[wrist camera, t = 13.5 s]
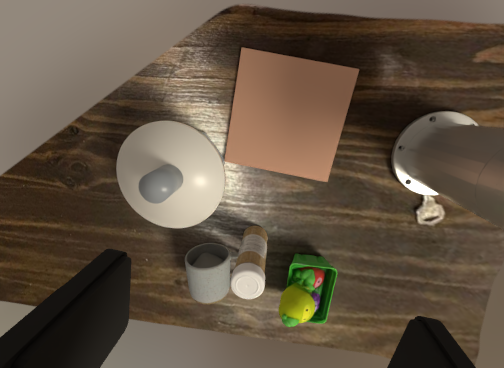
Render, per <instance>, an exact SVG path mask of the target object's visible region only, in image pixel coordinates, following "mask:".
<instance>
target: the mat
mask: <svg viewBox="0 0 504 368" xmlns="http://www.w3.org/2000/svg"><path fill="white" fill-rule="evenodd" d="M358 73H359V69H356V68H351V67H345V66H340V65H334V64H329V63H324V62H318V61H313V60H307V59H302V58H297V57H291V56H286V55H280V54H275V53H270V52H264V51H259V50H253V49H248V48H243V47H242V49H241V56H240V62H239V69H238V75H237V82H236V88H235V95H234V101H233V108H232V114H231V121H230V128H229V134H228V141H227V147H226V154H225V160H224V161H225V162H230V163H235V164H240V165H245V166H250V167H255V168H260V169H265V170H270V171H275V172H280V173H285V174H290V175H295V176H299V177H304V178H309V179H314V180H319V181H324V182H327V181H328V177H329V174H330V170H331V167H332V163H333V160H334V156H335V153H336V149H337V146H338V142H339V139H340V135H341V132H342V128H343V125H344V122H345V118H346V115H347V111H348V108H349V104H350V101H351V97H352V94H353V90H354V87H355V83H356V80H357V76H358Z"/></svg>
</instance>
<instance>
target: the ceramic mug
mask: <svg viewBox="0 0 504 368" xmlns="http://www.w3.org/2000/svg"><path fill="white" fill-rule="evenodd" d="M237 257H238V253H235V252H231V253H230V251H229V249H228V248H227V247H226V246H224V245H222V244H218V243H204V244H200V245H197V246H195V247H193V248H192V249H191V250H189V251H188V253H187V254H186V256H185V265H186V272H187V278H188V285H189V290H190V293H191V296H192V297H193V299H194V300H195V301H197V302H198V303H201V304H213V303H217V302H219V301H221V300H222V299H223V298H224V297H225V296H226V295H227V293H228V291H229V287H230V282H231V278H230V260H231V259H232V258H236V259H237Z"/></svg>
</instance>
